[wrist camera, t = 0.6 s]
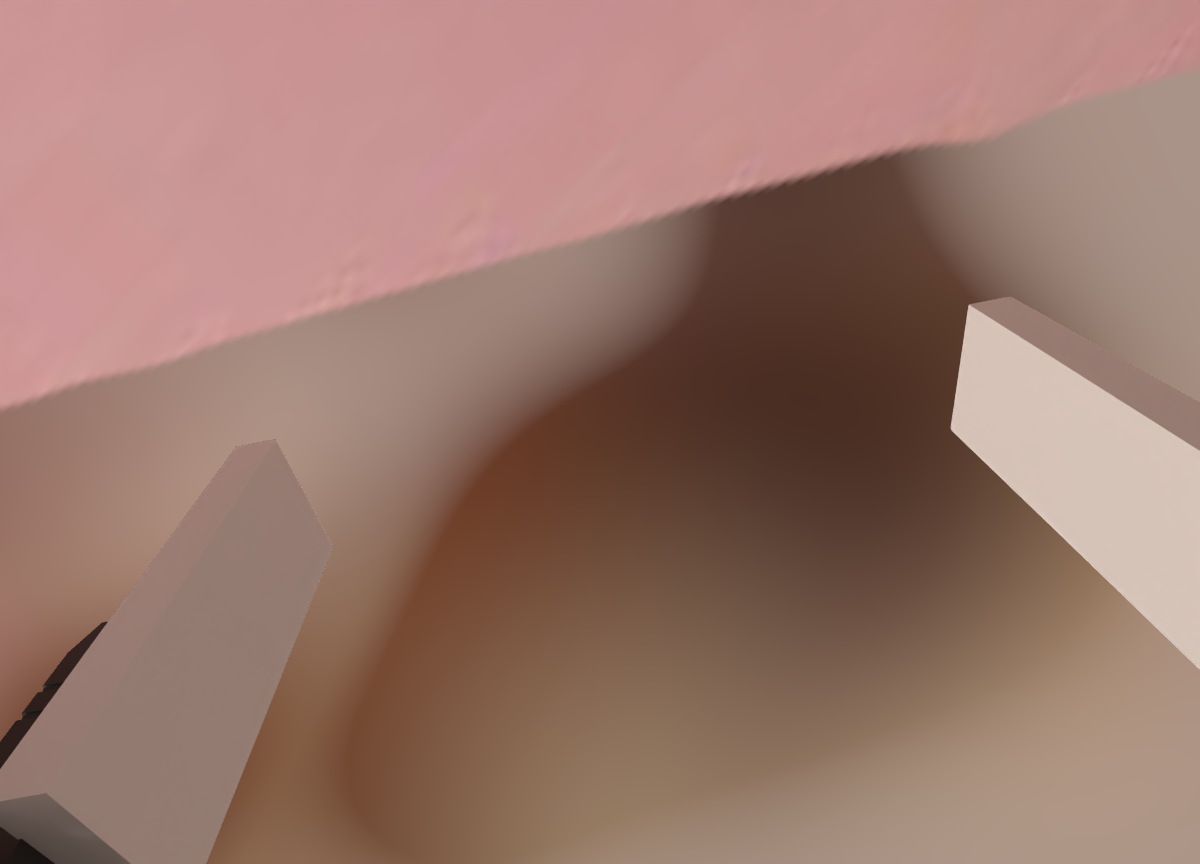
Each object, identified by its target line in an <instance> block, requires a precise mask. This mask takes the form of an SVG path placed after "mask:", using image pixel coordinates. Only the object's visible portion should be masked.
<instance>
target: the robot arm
mask: <svg viewBox="0 0 1200 864" xmlns="http://www.w3.org/2000/svg"><path fill="white" fill-rule="evenodd" d="M951 430H952V431H953V432H954V433H955V434H956V435H957V436H958V437H959V438H960V439H961V440H962V441H963V442H964V443H966V445H967V446H969V447H970V448H971V449H972V450H973V451H974V452H975V453H976V454H977V455H978V456H979V457H980V458H981V459H982V460H983V461H984V462H985V463H986V464H987V465H988V466H989V467H990V468H991V469H992V470H993V471H994V472H995V473H996V474H998V475H999V476H1000V477H1001V478H1002V479H1003V480H1004V481H1005V482H1006V483H1007V484H1008V485H1009V486H1010V487H1011V488H1012V489H1013V490H1014V491H1015V492H1016V493H1017V494H1018V495H1019V496H1020V497H1021V498H1022V499H1023V500H1025V501H1026V502H1027V503H1028V504H1029V505H1030V506H1031V507H1032V508H1033V509H1034V510H1035V511H1036V512H1037V513H1038V514H1039V515H1040V516H1041V517H1042V518H1043V519H1044V520H1045V521H1046V522H1047V523H1048V524H1049V525H1051V526H1052V527H1053V528H1054V529H1055V530H1056V531H1057V532H1058V533H1059V534H1060V535H1061V536H1062V537H1063V538H1064V539H1065V540H1066V541H1067V542H1068V543H1069V544H1070V545H1071V546H1072V547H1073V548H1074V549H1075V550H1076V551H1077V552H1078V553H1079V554H1080V555H1082V556H1083V557H1084V558H1085V559H1086V560H1087V561H1088V562H1089V563H1090V564H1091V565H1092V566H1093V567H1094V568H1095V569H1096V570H1097V571H1098V572H1099V573H1100V574H1101V575H1102V576H1103V577H1104V578H1105V579H1106V580H1107V581H1109V582H1110V583H1111V584H1112V585H1113V586H1114V587H1115V588H1116V589H1117V590H1118V591H1119V592H1120V593H1121V594H1122V595H1123V596H1124V597H1125V598H1126V599H1127V600H1128V601H1129V602H1130V603H1131V604H1132V605H1133V606H1135V608H1137V609H1138V610H1139V611H1140V612H1141V613H1142V614H1143V615H1144V616H1145V617H1146V618H1147V619H1148V620H1149V621H1150V622H1151V623H1152V624H1153V625H1154V626H1155V627H1156V628H1157V629H1158V630H1159V631H1160V632H1161V633H1162V634H1163V635H1164V636H1166V637H1167V638H1168V639H1169V640H1170V641H1171V642H1172V643H1173V644H1174V645H1175V646H1176V647H1177V648H1178V649H1179V650H1180V651H1181V652H1182V653H1183V654H1184V655H1185V656H1186V657H1187V658H1188V659H1189V660H1190V661H1191V662H1193V663H1194V664H1195V665H1196V666H1197V667H1198V668H1199V669H1200V403H1199V402H1198V401H1196V400H1194V399H1192V398H1191V397H1189V396H1187V395H1185V394H1183V393H1181V392H1180V391H1178V390H1176V389H1174V388H1173V387H1171V386H1169V385H1167V384H1166V383H1164V382H1162V381H1160V380H1158V379H1157V378H1155V377H1153V376H1151V375H1149V374H1148V373H1146V372H1144V371H1142V370H1140V369H1139V368H1137V367H1135V366H1133V365H1132V364H1130V363H1128V362H1126V361H1125V360H1123V359H1121V358H1119V357H1117V356H1116V355H1114V354H1112V353H1110V352H1108V351H1106V350H1105V349H1103V348H1101V347H1100V346H1098V345H1096V344H1094V343H1092V342H1090V341H1089V340H1087V339H1085V338H1083V337H1082V336H1080V335H1078V334H1076V333H1075V332H1073V331H1071V330H1069V329H1067V328H1066V327H1064V326H1062V325H1060V324H1058V323H1057V322H1055V321H1053V320H1051V319H1050V318H1048V317H1046V316H1044V315H1042V314H1040V313H1039V312H1037V311H1035V310H1034V309H1032V308H1030V307H1028V306H1026V305H1025V304H1023V303H1021V302H1019V301H1017V300H1016V299H1014V298H1012V297H1006V298H1000V299H995V300H990V301H986V302H980V303H975V304H970V305H969V308H968V314H967V321H966V327H965V335H964V341H963V348H962V355H961V362H960V369H959V376H958V382H957V389H956V396H955V403H954V411H953V417H952V424H951ZM332 547H333V545H332V543H331V542H330V540H329V538H328V536H327V534H326V532H325V530H324V528H323V527H322V525H321V523H320V521H319V519H318V517H317V516H316V514H315V512H314V510H313V508H312V506H311V504H310V502H309V501H308V499H307V497H306V495H305V493H304V491H303V490H302V488H301V486H300V484H299V482H298V480H297V479H296V476H295V475H294V473H293V471H292V469H291V467H290V465H289V464H288V462H287V460H286V458H285V456H284V454H283V452H282V451H281V449H280V447H279V445H278V443H277V441H276V439H273V440H268V441H262V442H257V443H253V444H248V445H242V446H237V447H236V448H235V449H234V450H233V451H232V453H231V454H230V456H229V457H228V458H227V460H226V461H225V462H224V464H223V466H222V467H221V468H220V469H219V471H218V472H217V473H216V475H215V476H214V477H213V479H212V480H211V482H210V483H209V484H208V486H207V487H206V488H205V490H204V491H203V492H202V494H201V495H200V497H199V498H198V500H197V501H196V502H195V504H194V505H193V506H192V508H191V509H190V510H189V512H188V513H187V514H186V516H185V517H184V518H183V520H182V521H181V523H180V524H179V526H178V527H177V528H176V529H175V531H174V532H173V534H172V535H171V536H170V538H169V539H168V540H167V542H166V543H165V544H164V546H163V547H162V549H161V550H160V552H159V553H158V554H157V556H156V557H155V558H154V560H153V561H152V562H151V564H150V565H149V566H148V568H147V569H146V571H145V572H144V573H143V575H142V576H141V577H140V579H139V580H138V581H137V583H136V584H135V586H134V587H133V588H132V590H131V591H130V592H129V594H128V595H127V597H126V598H125V599H124V601H123V602H122V603H121V605H120V606H119V607H118V609H117V610H116V611H115V613H114V614H113V616H112V617H111V618H110V620H109V621H108V622H103V623H101V624H100V625H99V626H98V627H97V628H96V629H94V630H93V631H92V632H91V633H90V634H89V635H88V636H86V637H85V638H84V639H83V640H82V641H81V642H80V643H79V644H77V645H76V646H75V647H74V648H73V649H72V650H71V651H69V652H68V653H67V655H66V656H65V657H64V659H63V660H62V661H61V663H60V664H59V665H58V666H57V668H56V669H55V670H54V672H53V673H52V674H51V676H50V677H49V678H48V680H47V681H46V682H45V684H44V685H43V688H44V689H43V692H39V693H37V694H36V696H35V697H34V698H33V699H32V701H31V702H30V703H29V705H28V706H27V707H26V709H25V710H24V711H23V713H22V715H23V718H22V720H18V721H16V722H15V723H14V725H13V726H12V727H11V729H10V730H9V731H8V732H7V734H6V735H5V736H4V738H3V739H2V740H1V742H0V864H206V862H207V860H208V857H209V855H210V852H211V850H212V847H213V845H214V842H215V840H216V837H217V835H218V832H219V830H220V827H221V825H222V822H223V820H224V817H225V815H226V812H227V810H228V807H229V805H230V802H231V800H232V797H233V795H234V792H235V790H236V787H237V785H238V782H239V780H240V777H241V775H242V772H243V770H244V767H245V765H246V762H247V760H248V757H249V755H250V752H251V750H252V747H253V745H254V742H255V740H256V737H257V735H258V732H259V730H260V727H261V725H262V722H263V720H264V717H265V715H266V712H267V710H268V707H269V705H270V702H271V700H272V697H273V695H274V692H275V690H276V687H277V685H278V682H279V680H280V677H281V675H282V672H283V670H284V667H285V665H286V662H287V660H288V658H289V655H290V653H291V650H292V647H293V645H294V643H295V640H296V638H297V635H298V633H299V630H300V628H301V625H302V623H303V620H304V618H305V615H306V612H307V610H308V608H309V605H310V602H311V600H312V598H313V595H314V592H315V590H316V587H317V585H318V582H319V580H320V578H321V575H322V573H323V570H324V568H325V565H326V563H327V560H328V558H329V555H330V552H331V550H332Z"/></svg>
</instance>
